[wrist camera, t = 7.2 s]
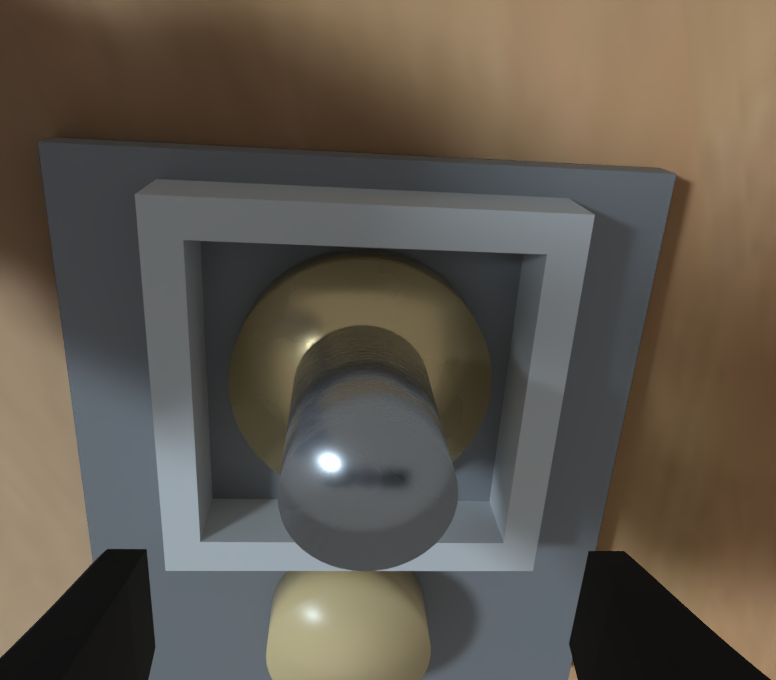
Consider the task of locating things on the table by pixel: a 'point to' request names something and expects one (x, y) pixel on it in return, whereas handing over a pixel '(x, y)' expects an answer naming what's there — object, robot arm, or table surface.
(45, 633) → the robot arm
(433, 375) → the flanged metal cylinder
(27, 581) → the table surface
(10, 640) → the table surface
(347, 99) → the table surface
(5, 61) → the table surface
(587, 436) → the carrier
